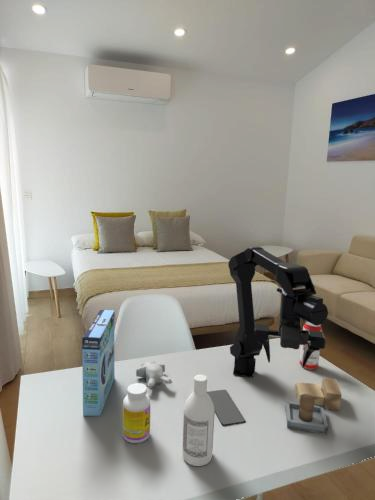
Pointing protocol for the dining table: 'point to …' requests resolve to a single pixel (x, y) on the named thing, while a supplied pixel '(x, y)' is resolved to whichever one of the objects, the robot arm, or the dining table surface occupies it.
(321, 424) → the tray
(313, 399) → the dowel
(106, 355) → the light blue cardboard box
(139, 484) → the dining table surface
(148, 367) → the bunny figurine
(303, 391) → the tan beveled block
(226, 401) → the smartphone
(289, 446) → the dining table surface
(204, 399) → the bath foam
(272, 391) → the dining table surface
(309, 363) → the beer can
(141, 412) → the supplement bottle
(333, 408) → the block
